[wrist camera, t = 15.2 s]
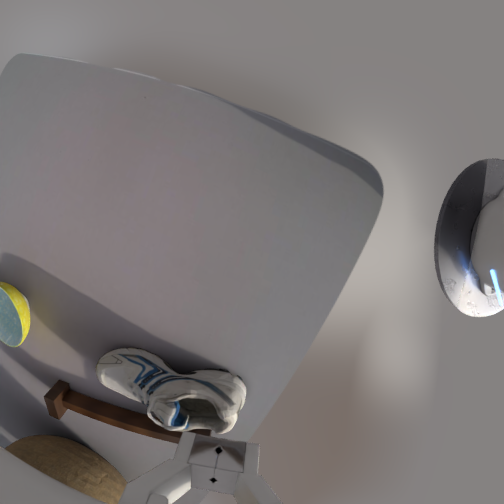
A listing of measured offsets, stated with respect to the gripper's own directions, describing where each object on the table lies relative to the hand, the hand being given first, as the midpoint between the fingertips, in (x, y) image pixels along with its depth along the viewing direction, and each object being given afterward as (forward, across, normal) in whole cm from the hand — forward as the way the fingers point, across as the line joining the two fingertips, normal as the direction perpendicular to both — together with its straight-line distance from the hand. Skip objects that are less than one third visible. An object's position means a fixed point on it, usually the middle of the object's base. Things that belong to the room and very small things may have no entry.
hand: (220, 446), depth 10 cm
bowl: (+29, +40, +15) cm, 52 cm away
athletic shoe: (+30, +10, +21) cm, 37 cm away
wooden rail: (+29, +18, +32) cm, 47 cm away
